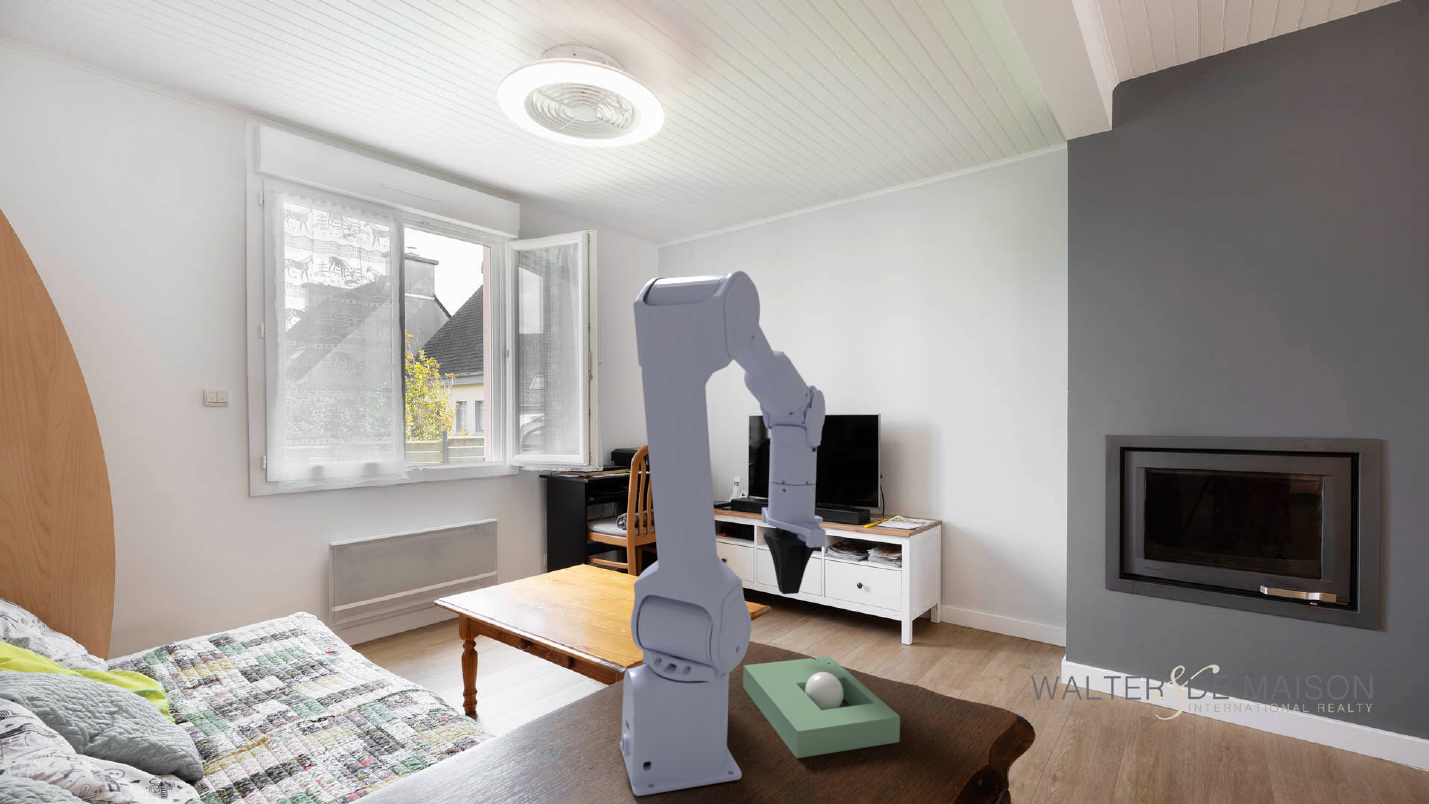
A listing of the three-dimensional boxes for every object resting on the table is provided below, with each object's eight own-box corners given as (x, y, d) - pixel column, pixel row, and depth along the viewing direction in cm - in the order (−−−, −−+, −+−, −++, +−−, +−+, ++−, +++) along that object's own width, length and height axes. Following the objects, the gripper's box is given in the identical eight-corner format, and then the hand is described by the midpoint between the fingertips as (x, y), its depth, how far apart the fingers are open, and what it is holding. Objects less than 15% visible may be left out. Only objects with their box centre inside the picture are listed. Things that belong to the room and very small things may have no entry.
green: (796, 758, 57) (797, 731, 57) (742, 687, 71) (743, 665, 71) (899, 742, 61) (900, 716, 61) (828, 676, 75) (829, 656, 75)
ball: (797, 670, 67) (805, 702, 68) (807, 693, 63) (815, 727, 64) (832, 659, 67) (839, 691, 68) (844, 682, 63) (852, 715, 64)
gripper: (851, 490, 71) (847, 609, 71) (796, 474, 85) (793, 573, 85) (794, 491, 69) (790, 614, 69) (748, 474, 83) (745, 576, 83)
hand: (788, 592), depth 77 cm, fingers closed
